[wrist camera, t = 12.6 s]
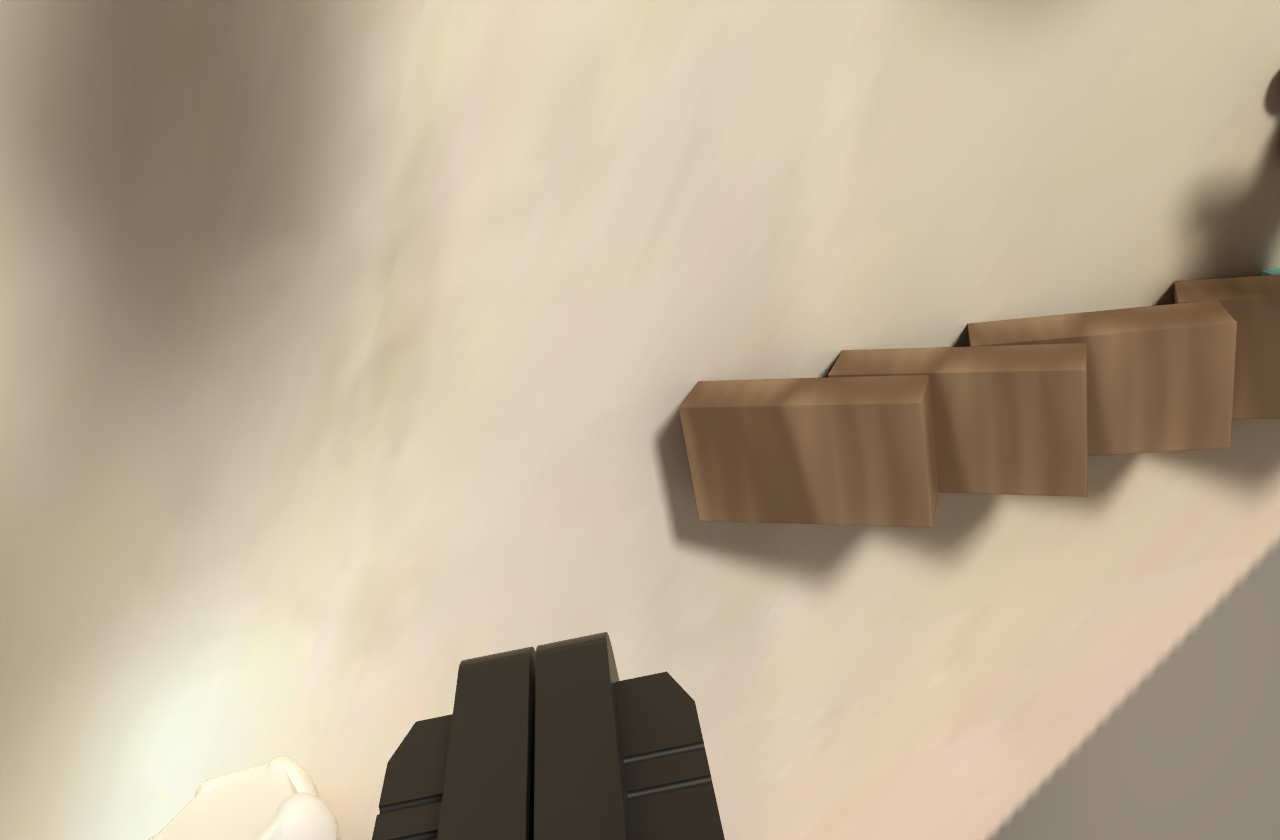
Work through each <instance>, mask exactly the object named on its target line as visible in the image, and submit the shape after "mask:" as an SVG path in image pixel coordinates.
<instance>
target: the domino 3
mask: <svg viewBox="0 0 1280 840" xmlns="http://www.w3.org/2000/svg"><path fill="white" fill-rule="evenodd" d="M1236 332H1237V322H1236V321H1235V320H1234V319H1233V317H1232V316H1231V315H1230V314H1229V313H1228V312H1227V310H1226V309H1225V308H1224V307H1223V306H1222V305H1221V303H1220V302H1219V301H1218V300H1211V301H1201V302H1190V303H1180V304H1169V305H1159V306H1148V307H1138V308H1127V309H1117V310H1107V311H1096V312H1086V313H1075V314H1065V315H1054V316H1044V317H1033V318H1023V319H1012V320H1002V321H991V322H981V323H970V324H968V338H969V347H975V346H1008V345H1041V344H1075V343H1087V417H1088V456H1094V455H1111V454H1128V453H1145V452H1162V451H1180V450H1197V449H1214V448H1230V446H1231V427H1232V408H1233V389H1234V370H1235V351H1236Z"/></svg>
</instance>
